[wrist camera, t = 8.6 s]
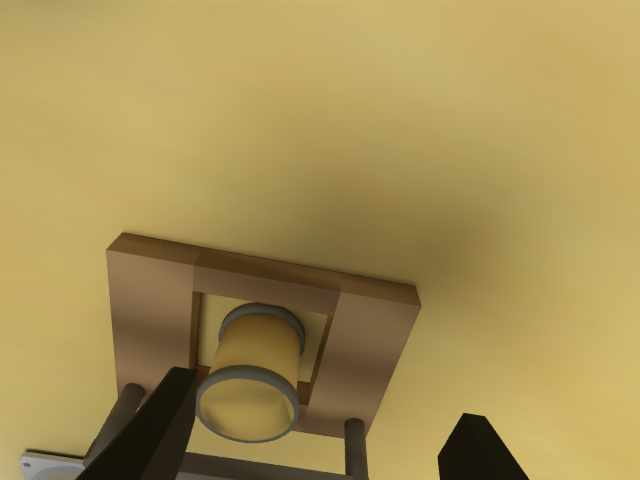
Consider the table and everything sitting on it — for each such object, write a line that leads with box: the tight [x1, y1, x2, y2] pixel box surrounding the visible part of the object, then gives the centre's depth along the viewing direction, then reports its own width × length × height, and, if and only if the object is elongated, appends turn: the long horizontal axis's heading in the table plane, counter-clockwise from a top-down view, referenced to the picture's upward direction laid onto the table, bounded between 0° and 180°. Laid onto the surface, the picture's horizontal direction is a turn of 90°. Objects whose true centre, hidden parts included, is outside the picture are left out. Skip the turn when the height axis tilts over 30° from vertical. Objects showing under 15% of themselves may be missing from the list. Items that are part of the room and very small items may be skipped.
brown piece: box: [83, 233, 421, 480], centre depth 20 cm, size 11×15×6 cm
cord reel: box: [196, 302, 305, 443], centre depth 21 cm, size 5×5×5 cm
